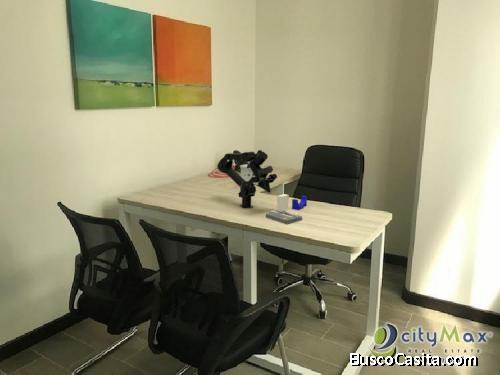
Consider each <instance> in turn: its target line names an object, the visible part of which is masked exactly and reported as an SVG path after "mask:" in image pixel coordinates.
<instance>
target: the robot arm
mask: <svg viewBox="0 0 500 375" xmlns="http://www.w3.org/2000/svg"><path fill="white" fill-rule="evenodd" d="M268 156H269V155H268V154H267V153H266V152H264V151H262V149H259V150H257V152H256V153H255V151H245V152H241V153H233V152H229V153H225V154H224V156H223V157H222V158H221V159H220V160H219V162H217V165H216V167H217V169H218V171H219V172H221V173H223V174H224V175H227V176H228V177H229V178H230V179H231V180H232V181H234V183H235V184H236V185H237V186H238V187H239V190H240V191H239V192H238V194H237V195H238V197H239V198H241V204H239V206H240V207H241V208H242V209H247V208H248V209H250V208H254V206H253V205H252V197H255V196H256V192H257V187H258V188H260V189H262V190H264V191H265V192H267V193H271V192H272V191H271V186H270V184H271V183H274V181H276V180H277V178H278V175H277V174H276V173H272V172H273V171H274V169H273V167H272V166H271V165H269V166H267V167H264V168H261V167H262V165H264V163H265V162H266V160H268V158H269V157H268ZM234 160H235V161H241V162H244V163H247V168H250V169H251V171H252V172H253V174H252V175H253V176H255V177H252V178H251V179H250V180H249V181H245V180H244V179H243V178H242V177H241V174H239V173H238V172H236V170H235V169H233V164H234ZM248 162H249V163H248ZM253 183H258V185H255V184H253ZM256 186H257V187H256Z"/></svg>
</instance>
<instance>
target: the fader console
mask: <svg viewBox="0 0 500 375" xmlns="http://www.w3.org/2000/svg"><path fill="white" fill-rule="evenodd" d="M265 218H267V219H270V220H273V221H276V222H279V223H281V224H282V223H283V224H284V225H289V224H293V223H296V222H299V221H302V220H303V216H302V215H299V214H295V213H293V212H290V211H287V210H286V211H285V214H282V213H280V211H277V208H276V210H275V211H274V210H270V212H268V213H265Z"/></svg>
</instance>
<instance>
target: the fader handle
mask: <svg viewBox="0 0 500 375" xmlns="http://www.w3.org/2000/svg"><path fill="white" fill-rule="evenodd" d="M289 196H290V195H289V194H285V193H283V194H280V195H277V197H276V198H277V201H276V204H277V206H276V209H277V211H280V213H282V214H285V211H286V212H287V211H289V199H290V197H289Z"/></svg>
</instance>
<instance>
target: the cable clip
mask: <svg viewBox="0 0 500 375" xmlns="http://www.w3.org/2000/svg"><path fill="white" fill-rule="evenodd" d="M307 204H308V196H307V195H306V196H305V195H301V198H300V201H299V199H296V198H293V199H292V202H291V209H292V210H295V211H300V210H302V209H305V207H307Z"/></svg>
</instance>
